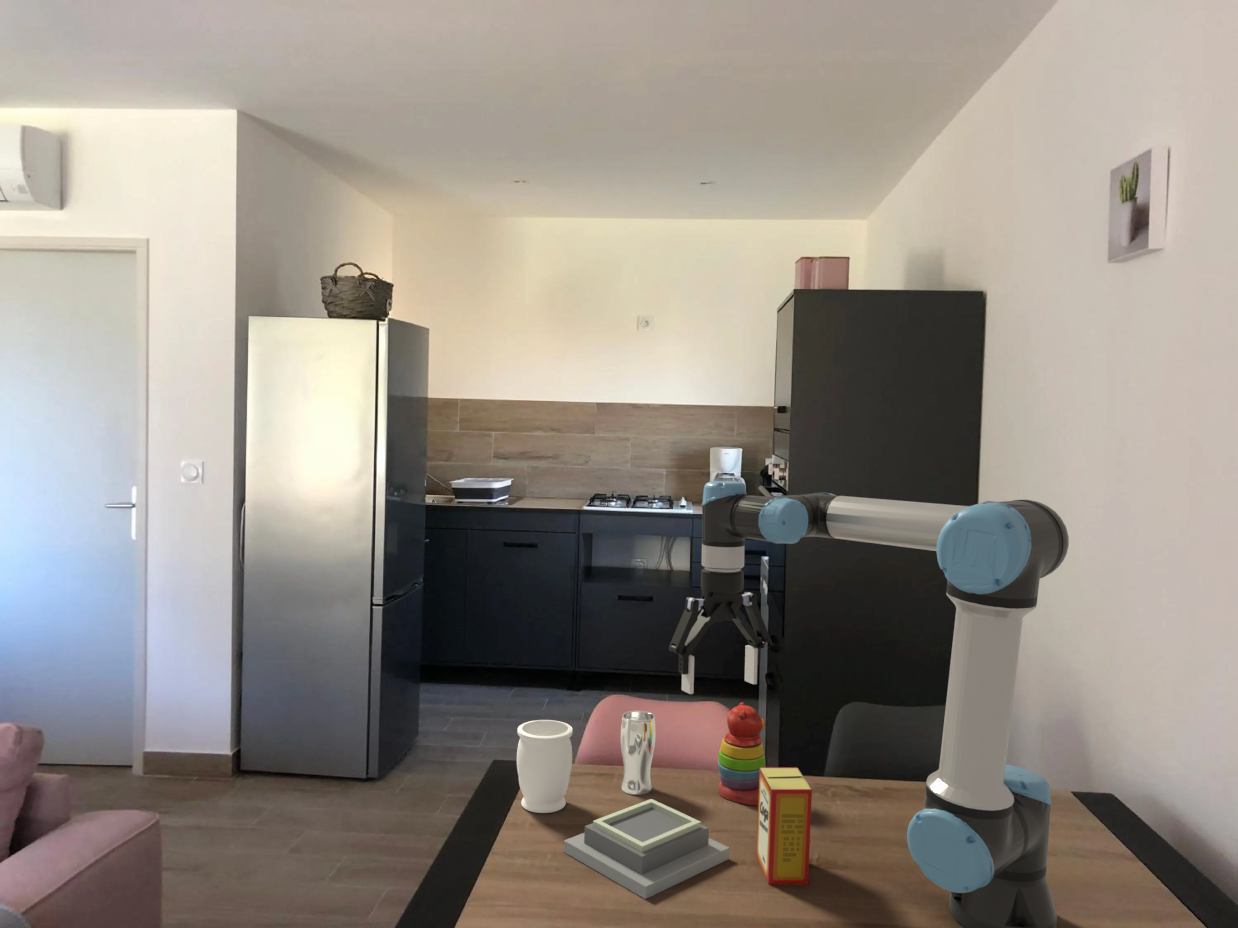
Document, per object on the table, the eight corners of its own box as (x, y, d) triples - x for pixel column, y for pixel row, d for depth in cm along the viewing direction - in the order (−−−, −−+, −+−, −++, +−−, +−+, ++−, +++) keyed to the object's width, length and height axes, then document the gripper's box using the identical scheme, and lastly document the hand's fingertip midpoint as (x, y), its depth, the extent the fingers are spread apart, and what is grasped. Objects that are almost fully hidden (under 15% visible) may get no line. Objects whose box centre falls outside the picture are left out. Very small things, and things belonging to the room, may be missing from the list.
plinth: (729, 858, 157) (730, 824, 156) (645, 898, 143) (646, 861, 143) (646, 818, 171) (647, 787, 171) (563, 851, 158) (564, 817, 157)
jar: (506, 811, 173) (508, 733, 172) (528, 790, 183) (529, 716, 182) (559, 820, 170) (561, 740, 169) (578, 798, 180) (580, 722, 179)
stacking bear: (766, 807, 178) (770, 717, 177) (714, 801, 180) (717, 712, 179) (769, 785, 188) (772, 700, 187) (719, 780, 190) (722, 695, 189)
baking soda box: (808, 884, 149) (811, 787, 148) (768, 884, 149) (771, 787, 148) (793, 855, 159) (797, 764, 158) (756, 855, 158) (759, 764, 157)
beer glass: (657, 784, 187) (659, 712, 186) (649, 798, 181) (651, 723, 180) (624, 779, 189) (626, 708, 188) (615, 793, 182) (617, 719, 182)
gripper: (765, 561, 172) (763, 673, 173) (650, 569, 160) (648, 689, 161) (791, 567, 165) (788, 683, 166) (673, 576, 153) (671, 701, 154)
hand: (719, 687), depth 164 cm, fingers open, 13 cm apart
